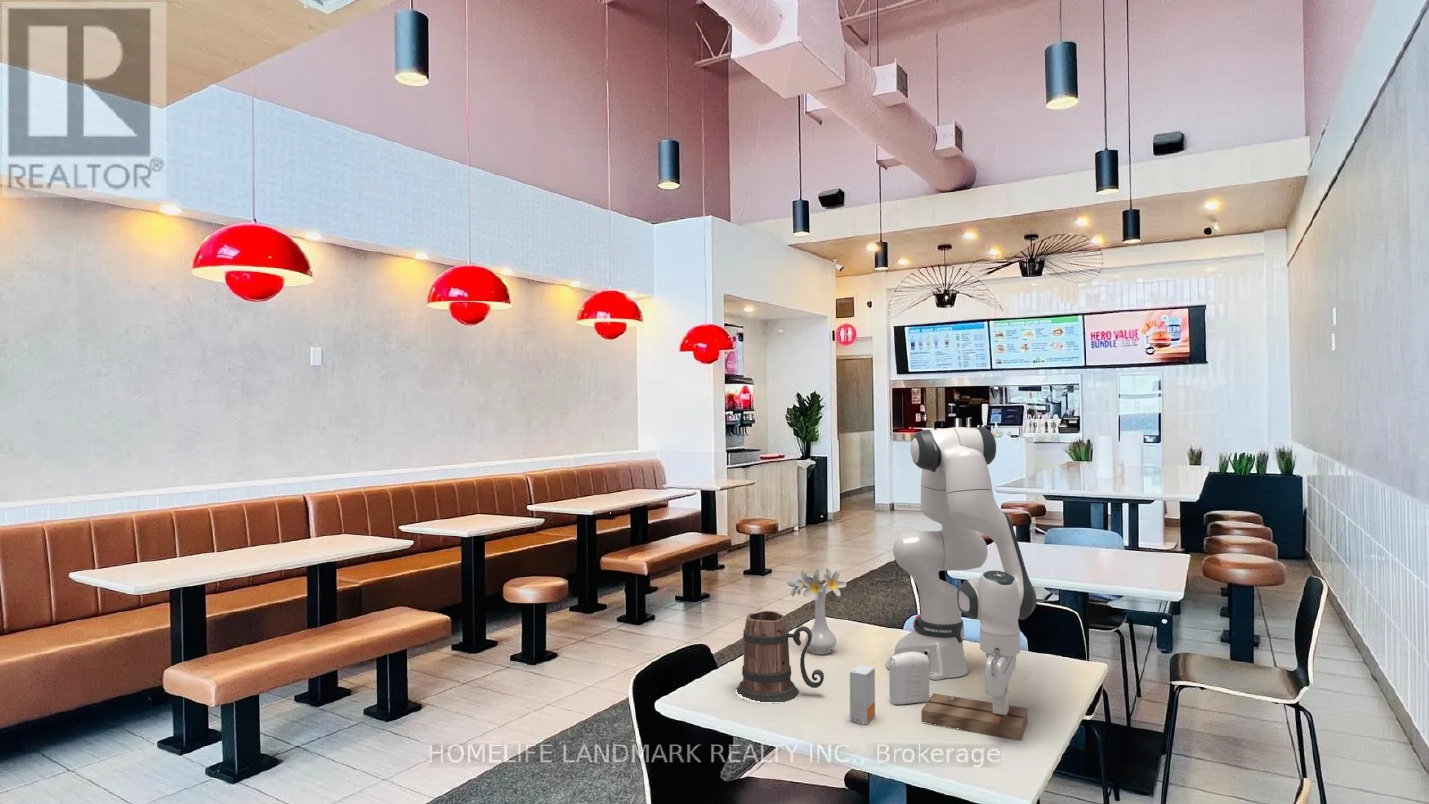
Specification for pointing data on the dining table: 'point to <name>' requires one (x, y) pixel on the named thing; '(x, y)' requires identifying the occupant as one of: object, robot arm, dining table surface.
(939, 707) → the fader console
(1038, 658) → the dining table surface
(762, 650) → the tankard
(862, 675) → the skincare box
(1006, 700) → the fader knob
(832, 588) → the flower vase
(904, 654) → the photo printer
